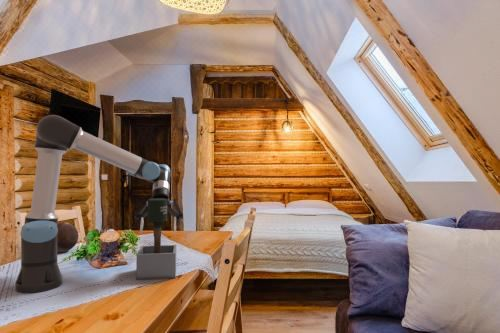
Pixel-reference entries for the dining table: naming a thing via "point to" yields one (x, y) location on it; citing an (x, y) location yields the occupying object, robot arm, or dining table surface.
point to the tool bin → (156, 263)
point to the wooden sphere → (66, 237)
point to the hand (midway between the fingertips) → (158, 231)
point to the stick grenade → (157, 219)
